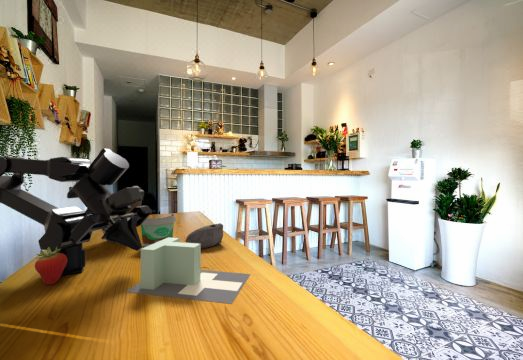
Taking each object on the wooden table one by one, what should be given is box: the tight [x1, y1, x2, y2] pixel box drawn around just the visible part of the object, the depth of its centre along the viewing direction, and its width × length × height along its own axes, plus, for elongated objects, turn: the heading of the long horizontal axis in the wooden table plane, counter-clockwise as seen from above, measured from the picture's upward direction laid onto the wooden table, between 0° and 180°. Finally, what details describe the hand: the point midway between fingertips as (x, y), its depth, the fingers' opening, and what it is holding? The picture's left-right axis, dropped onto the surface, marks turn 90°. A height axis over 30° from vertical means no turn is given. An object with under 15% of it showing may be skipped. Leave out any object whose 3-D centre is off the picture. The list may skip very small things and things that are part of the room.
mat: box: [124, 269, 251, 305], centre depth 54 cm, size 22×14×1 cm, turn 79°
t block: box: [140, 237, 202, 290], centre depth 55 cm, size 10×10×8 cm
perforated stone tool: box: [185, 223, 224, 249], centre depth 82 cm, size 15×5×7 cm, turn 139°
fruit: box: [34, 246, 67, 285], centre depth 54 cm, size 5×5×8 cm
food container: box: [140, 213, 177, 248], centre depth 82 cm, size 12×6×10 cm, turn 143°
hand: (140, 249), depth 56 cm, fingers closed
